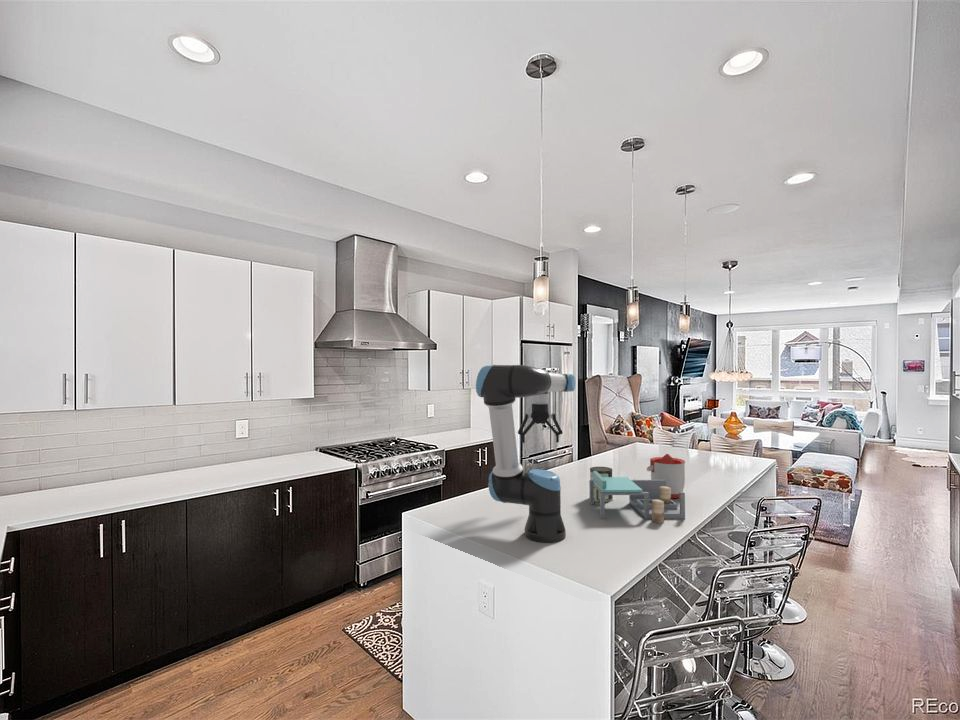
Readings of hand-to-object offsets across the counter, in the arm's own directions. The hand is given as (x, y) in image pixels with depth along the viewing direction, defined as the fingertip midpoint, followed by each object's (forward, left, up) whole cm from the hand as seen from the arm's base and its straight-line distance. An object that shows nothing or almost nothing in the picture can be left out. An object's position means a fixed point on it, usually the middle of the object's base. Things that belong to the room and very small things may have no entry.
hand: (540, 449), depth 214 cm
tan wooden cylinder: (-12, -52, -22) cm, 58 cm away
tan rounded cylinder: (-25, -44, -24) cm, 56 cm away
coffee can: (+7, -29, -25) cm, 39 cm away
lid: (-11, -31, -14) cm, 36 cm away
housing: (-11, -39, -24) cm, 47 cm away
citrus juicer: (+12, -61, -25) cm, 67 cm away
